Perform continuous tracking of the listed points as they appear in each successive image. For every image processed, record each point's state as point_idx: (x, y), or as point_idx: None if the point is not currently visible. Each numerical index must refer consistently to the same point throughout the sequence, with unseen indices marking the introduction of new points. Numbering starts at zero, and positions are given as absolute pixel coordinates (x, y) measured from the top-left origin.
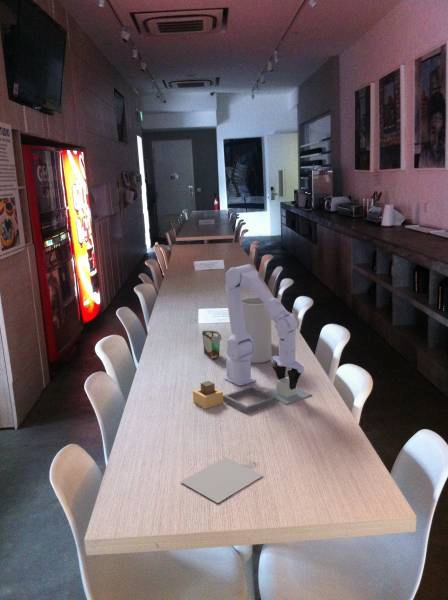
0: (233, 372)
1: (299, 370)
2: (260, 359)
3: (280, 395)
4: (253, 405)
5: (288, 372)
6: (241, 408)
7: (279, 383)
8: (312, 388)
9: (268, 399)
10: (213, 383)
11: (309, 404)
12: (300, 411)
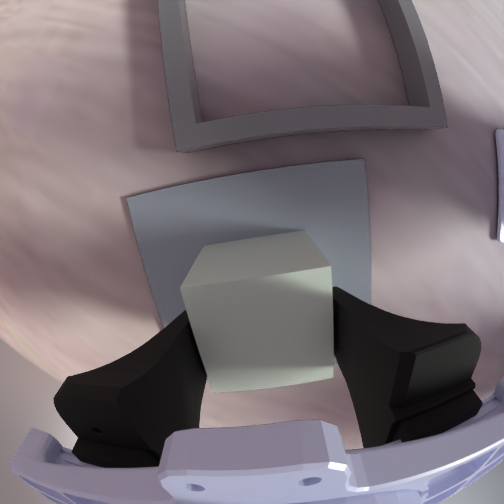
0: None
1: (24, 445)
2: None
3: (261, 235)
4: None
5: (87, 389)
6: None
7: (280, 266)
8: (259, 414)
9: (172, 80)
10: None
11: (93, 307)
12: (43, 221)
